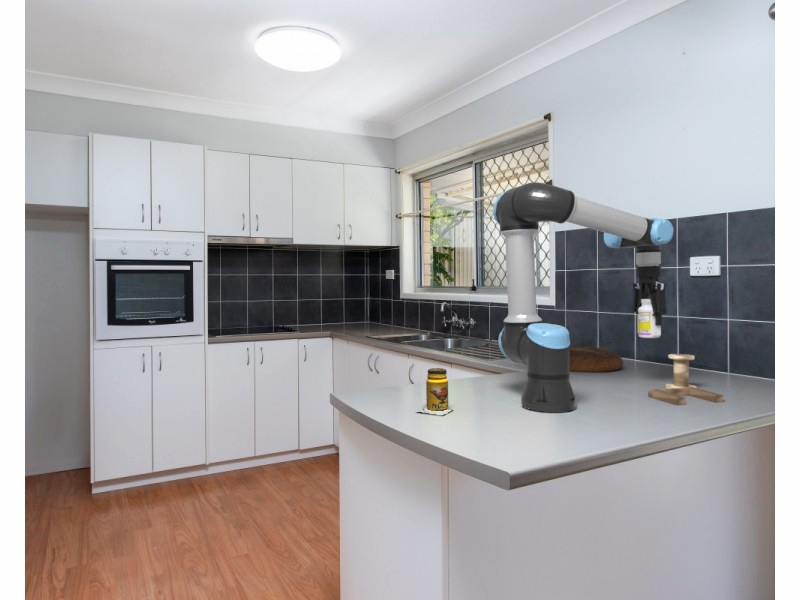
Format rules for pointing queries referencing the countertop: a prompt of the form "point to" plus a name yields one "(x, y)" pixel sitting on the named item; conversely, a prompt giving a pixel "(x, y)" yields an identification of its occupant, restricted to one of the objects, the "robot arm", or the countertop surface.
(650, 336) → the supplement bottle
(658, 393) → the notch board
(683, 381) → the bobbin
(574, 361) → the bread
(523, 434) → the countertop surface
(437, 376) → the condiment
